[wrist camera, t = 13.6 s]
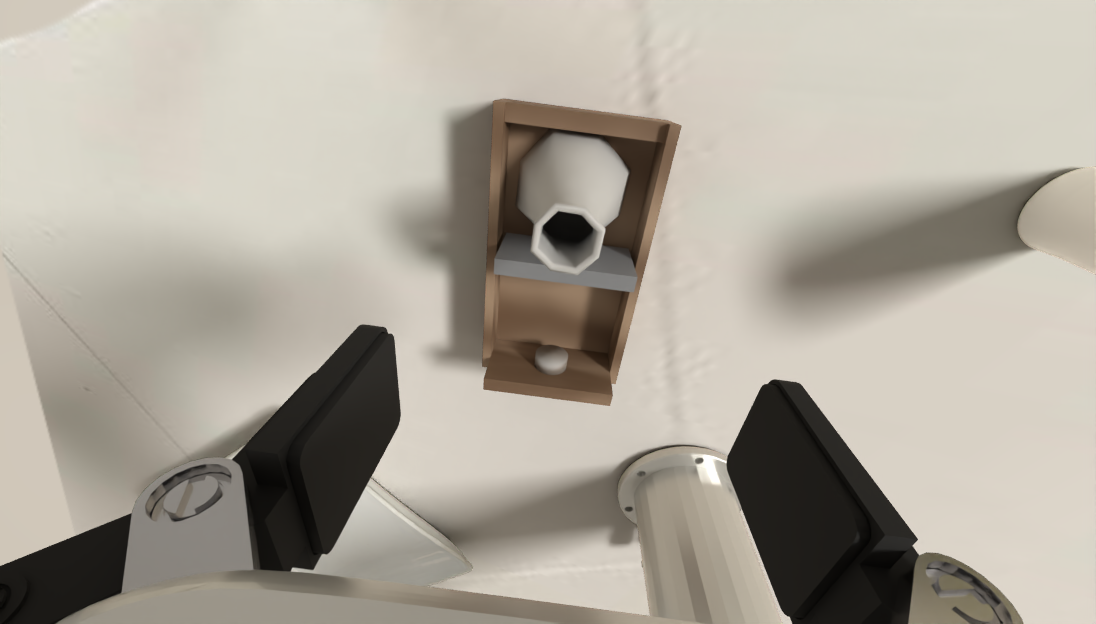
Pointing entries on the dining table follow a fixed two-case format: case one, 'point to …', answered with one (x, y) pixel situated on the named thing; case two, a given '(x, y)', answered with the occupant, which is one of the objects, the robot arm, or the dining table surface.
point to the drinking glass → (1063, 219)
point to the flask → (570, 197)
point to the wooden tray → (557, 308)
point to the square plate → (389, 544)
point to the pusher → (603, 273)
